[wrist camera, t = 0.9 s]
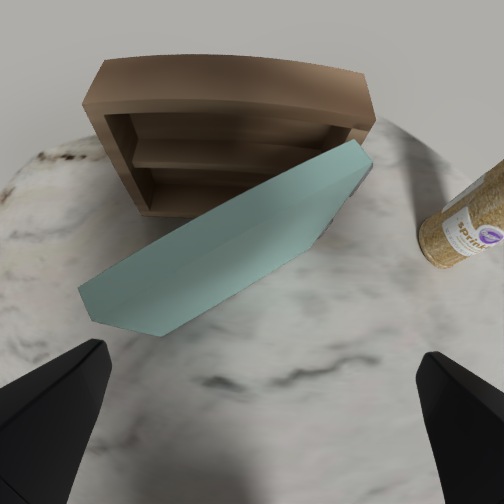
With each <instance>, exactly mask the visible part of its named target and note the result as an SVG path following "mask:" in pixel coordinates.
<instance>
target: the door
mask: <svg viewBox="0 0 504 504" xmlns="http://www.w3.org/2000/svg"><path fill="white" fill-rule="evenodd" d="M372 168H373V161H372V159H371V158H370V157H369V156H368V154H367V153H366V152H365V151H364V150H363V149H362V147H361V146H360V145H359V144H358V143H357V142H356V140H355V139H353V140H351V141H349V142H346V143H344V144H342V145H340V146H338V147H336V148H333V149H331V150H329V151H327V152H325V153H323V154H321V155H319V156H316V157H314V158H312V159H310V160H308V161H306V162H304V163H302V164H300V165H298V166H296V167H294V168H292V169H290V170H288V171H286V172H284V173H282V174H280V175H278V176H276V177H274V178H272V179H270V180H268V181H266V182H264V183H262V184H260V185H258V186H256V187H254V188H252V189H250V190H248V191H246V192H244V193H242V194H240V195H238V196H236V197H235V198H233V199H231V200H229V201H227V202H225V203H223V204H221V205H219V206H218V207H216V208H214V209H212V210H210V211H208V212H206V213H205V214H203V215H201V216H199V217H197V218H195V219H194V220H192V221H190V222H188V223H186V224H185V225H183V226H181V227H179V228H177V229H176V230H174V231H172V232H170V233H168V234H167V235H165V236H163V237H161V238H160V239H158V240H156V241H154V242H153V243H151V244H149V245H148V246H146V247H144V248H142V249H141V250H139V251H137V252H136V253H134V254H132V255H130V256H129V257H127V258H125V259H124V260H122V261H120V262H119V263H117V264H115V265H114V266H112V267H110V268H109V269H107V270H105V271H104V272H102V273H100V274H99V275H97V276H96V277H94V278H92V279H91V280H89V281H88V282H86V283H84V284H83V285H81V286H80V287H78V290H79V293H80V295H81V298H82V300H83V302H84V305H85V307H86V309H87V311H88V314H89V316H90V318H91V320H92V321H94V322H98V323H102V324H106V325H110V326H114V327H118V328H122V329H127V330H131V331H136V332H140V333H145V334H149V335H154V336H159V337H162V336H164V335H166V334H168V333H169V332H171V331H173V330H175V329H176V328H178V327H180V326H181V325H183V324H185V323H187V322H188V321H190V320H192V319H193V318H195V317H197V316H199V315H200V314H202V313H204V312H205V311H207V310H209V309H210V308H212V307H214V306H216V305H217V304H219V303H221V302H222V301H224V300H226V299H227V298H229V297H231V296H232V295H234V294H236V293H237V292H239V291H241V290H242V289H244V288H246V287H247V286H249V285H251V284H252V283H254V282H256V281H257V280H259V279H261V278H262V277H264V276H266V275H267V274H269V273H270V272H272V271H274V270H275V269H277V268H279V267H280V266H282V265H284V264H285V263H287V262H288V261H290V260H292V259H293V258H295V257H297V256H298V255H300V254H301V253H303V252H305V251H306V250H308V249H309V248H310V247H311V246H312V244H313V243H314V242H315V240H316V239H318V238H320V237H321V236H322V234H323V233H324V232H325V231H326V229H327V228H328V227H329V225H330V224H331V223H332V221H333V217H334V215H335V214H336V213H337V211H338V210H339V208H340V207H341V206H342V204H343V203H344V202H345V200H346V199H347V198H348V197H350V196H352V195H353V194H354V192H355V191H356V190H357V188H358V187H359V186H360V184H361V183H362V182H363V180H364V179H365V178H366V176H367V175H368V174H369V172H370V171H371V169H372Z"/></svg>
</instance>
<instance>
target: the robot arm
mask: <svg viewBox="0 0 504 504" xmlns="http://www.w3.org/2000/svg"><path fill="white" fill-rule="evenodd" d="M111 370H112V362H111V358H110V355H109V351H108V348H107V344H106V342H105V341H103V340H99V339H90V340H88V341H86V342H84V343H82V344H81V345H79V346H77V347H75V348H73V349H71V350H70V351H68V352H66V353H64V354H62V355H60V356H59V357H57V358H55V359H53V360H51V361H49V362H48V363H46V364H44V365H42V366H40V367H38V368H37V369H35V370H33V371H31V372H29V373H27V374H26V375H24V376H22V377H20V378H18V379H16V380H15V381H13V382H11V383H9V384H7V385H6V386H4V387H2V388H0V504H67V501H68V498H69V494H70V491H71V488H72V485H73V482H74V480H75V477H76V474H77V471H78V468H79V465H80V462H81V460H82V457H83V454H84V451H85V449H86V446H87V443H88V441H89V438H90V436H91V433H92V430H93V428H94V425H95V423H96V420H97V417H98V415H99V412H100V409H101V405H102V402H103V398H104V394H105V391H106V387H107V384H108V380H109V377H110V374H111ZM416 384H417V389H418V393H419V398H420V403H421V408H422V413H423V418H424V423H425V426H426V430H427V433H428V437H429V440H430V444H431V447H432V451H433V455H434V458H435V462H436V466H437V470H438V474H439V478H440V482H441V486H442V491H443V495H444V499H445V504H504V393H503V392H502V391H500V390H499V389H497V388H495V387H494V386H492V385H491V384H489V383H488V382H486V381H484V380H483V379H481V378H480V377H478V376H477V375H475V374H474V373H472V372H470V371H469V370H467V369H466V368H464V367H463V366H461V365H459V364H458V363H456V362H455V361H453V360H451V359H450V358H448V357H447V356H445V355H444V354H442V353H440V352H438V351H434V352H427V353H426V354H425V355H424V356H423V359H422V361H421V364H420V366H419V368H418V371H417V373H416Z"/></svg>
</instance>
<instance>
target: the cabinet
mask: <svg viewBox="0 0 504 504" xmlns="http://www.w3.org/2000/svg"><path fill="white" fill-rule="evenodd" d="M82 106H83V108H84V110H85V112H86V114H87V116H88V118H89V120H90V122H91V124H92V126H93V128H94V130H95V132H96V134H97V136H98V138H99V140H100V141H101V143H102V145H103V147H104V149H105V151H106V153H107V155H108V156H109V158H110V160H111V162H112V164H113V166H114V168H115V169H116V171H117V173H118V175H119V177H120V178H121V180H122V182H123V184H124V185H125V187H126V189H127V191H128V192H129V194H130V196H131V198H132V199H133V201H134V203H135V205H136V206H137V208H138V210H139V211H140V213H141V215H142V216H160V217H179V218H197V217H199V216H201V215H203V214H205V213H206V212H208V211H210V210H212V209H214V208H216V207H218V206H219V205H221V204H223V203H225V202H227V201H229V200H231V199H233V198H235V197H236V196H238V195H240V194H242V193H244V192H246V191H248V190H250V189H252V188H254V187H256V186H258V185H260V184H262V183H264V182H266V181H268V180H270V179H272V178H274V177H276V176H278V175H280V174H282V173H284V172H286V171H288V170H290V169H292V168H294V167H296V166H298V165H300V164H302V163H304V162H306V161H308V160H310V159H312V158H314V157H316V156H319V155H321V154H323V153H325V152H327V151H329V150H331V149H333V148H336V147H338V146H340V145H342V144H344V143H346V142H349V141H351V140H353V139H355V140H356V142H357V143H358V144H359V145H360V146H361V145H362V143H363V141H364V140H365V138H366V136H367V135H368V133H369V131H370V130H371V128H372V126H373V125H374V123H375V121H376V118H375V114H374V110H373V106H372V102H371V98H370V94H369V90H368V87H367V83H366V80H365V76H364V74H362V73H357V72H353V71H348V70H344V69H339V68H334V67H328V66H323V65H316V64H311V63H304V62H297V61H290V60H280V59H273V58H263V57H251V56H234V55H208V54H197V55H196V54H185V55H184V54H182V55H156V56H140V57H129V58H118V59H110V60H104V62H103V64H102V66H101V67H100V70H99V71H98V73H97V75H96V77H95V79H94V80H93V83H92V84H91V86H90V89H89V90H88V92H87V95H86V96H85V98H84V101H83V103H82Z"/></svg>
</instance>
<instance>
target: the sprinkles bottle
mask: <svg viewBox="0 0 504 504" xmlns="http://www.w3.org/2000/svg"><path fill="white" fill-rule="evenodd" d="M503 239H504V159H503V161H501V162H500V163H498V164H497V165H496V166H495V167H494V168H492V169H491V170H490V171H488V172H486V173H485V174H484V175H482V176H481V177H480V178H479V179H477V180H476V181H475V182H474V183H472V184H471V185H470V186H469V187H468V188H466V189H465V190H464V191H463V192H461V193H460V194H459V195H458V196H456V197H455V198H454V199H453V200H451V201H450V202H449V203H448V204H446V205H445V206H444V208H443V209H442V210H440V211H439V212H437V213H436V214H435V215H433V216H431V217H429V218H427V219H426V220H425V221H424V222H423V224H422V225H421V228H420V231H419V242H420V245H421V248H422V251H423V253H424V255H425V257H426V258H427V259H428V260H429V261H430V262H431V263H432V264H433V265H434V266H437V267H438V268H443V269H445V268H450V267H452V266H454V265H455V264H456V263H458V262H459V261H462V260H463V259H466V258H467V257H470V256H474V255H476V254H478V253H480V252H482V251H484V250H486V249H488V248H490V247H492V246H494V245H495V244H497V243H499V242H500V241H502V240H503Z"/></svg>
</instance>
